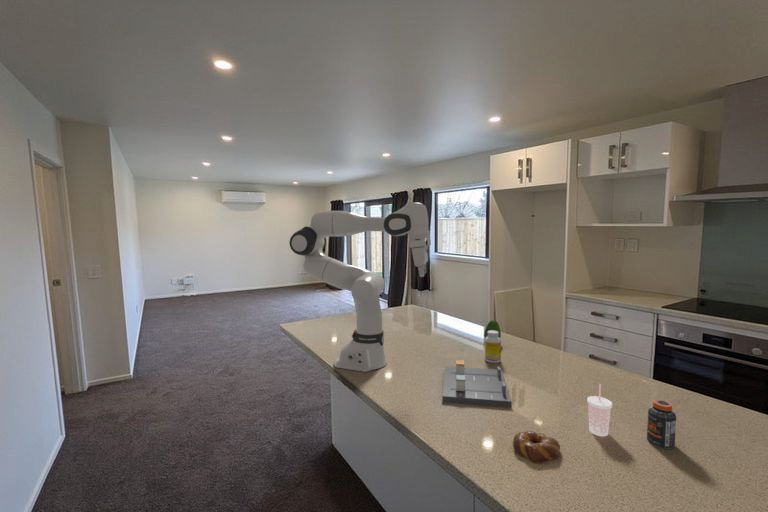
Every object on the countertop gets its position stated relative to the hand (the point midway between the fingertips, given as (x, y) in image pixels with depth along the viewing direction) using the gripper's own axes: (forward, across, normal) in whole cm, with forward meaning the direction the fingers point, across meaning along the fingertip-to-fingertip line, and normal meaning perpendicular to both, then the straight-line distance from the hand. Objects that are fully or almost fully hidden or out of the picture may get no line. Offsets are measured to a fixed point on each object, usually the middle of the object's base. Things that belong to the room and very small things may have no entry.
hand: (423, 275), depth 147 cm
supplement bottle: (+42, -12, +25) cm, 50 cm away
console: (+41, +16, +16) cm, 46 cm away
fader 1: (+38, +9, +11) cm, 40 cm away
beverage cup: (+44, +39, +49) cm, 76 cm away
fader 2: (+38, +23, +11) cm, 46 cm away
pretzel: (+42, +51, +30) cm, 73 cm away
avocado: (+42, -35, +27) cm, 61 cm away
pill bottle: (+46, +42, +63) cm, 88 cm away
